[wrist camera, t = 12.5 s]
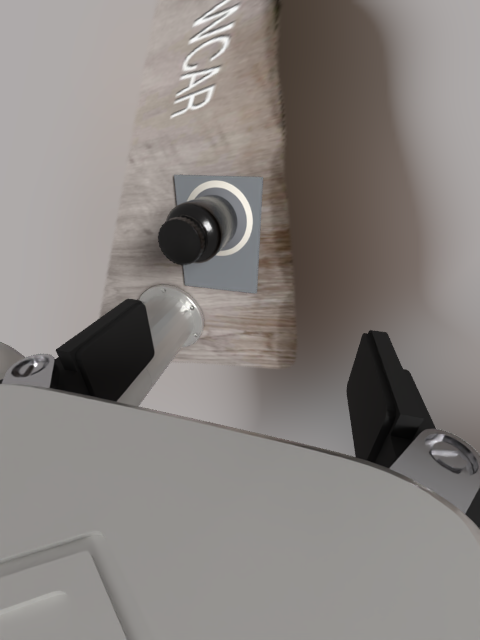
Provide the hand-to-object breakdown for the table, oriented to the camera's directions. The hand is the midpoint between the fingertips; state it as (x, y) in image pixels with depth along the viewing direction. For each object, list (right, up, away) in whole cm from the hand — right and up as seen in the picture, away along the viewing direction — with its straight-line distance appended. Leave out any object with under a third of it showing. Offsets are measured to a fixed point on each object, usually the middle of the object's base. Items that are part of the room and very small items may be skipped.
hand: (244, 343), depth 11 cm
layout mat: (-3, +13, +27) cm, 30 cm away
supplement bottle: (-4, +15, +25) cm, 30 cm away
